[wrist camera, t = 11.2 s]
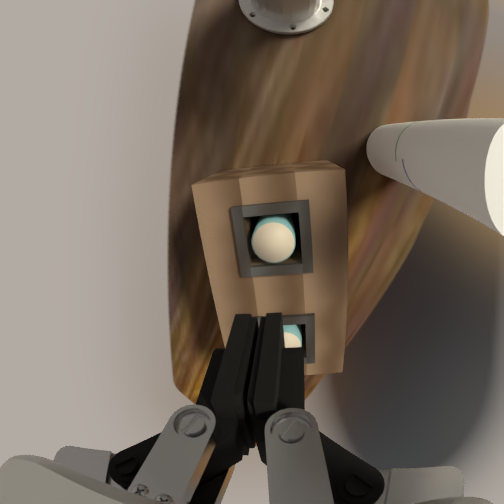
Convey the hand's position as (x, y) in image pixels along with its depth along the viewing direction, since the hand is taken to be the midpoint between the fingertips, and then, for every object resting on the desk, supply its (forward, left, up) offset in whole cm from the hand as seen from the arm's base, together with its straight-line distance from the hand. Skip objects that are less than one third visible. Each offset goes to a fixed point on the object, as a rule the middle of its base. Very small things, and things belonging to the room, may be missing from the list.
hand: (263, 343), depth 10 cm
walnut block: (+8, -1, -29) cm, 30 cm away
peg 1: (+2, -1, -28) cm, 28 cm away
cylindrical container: (-5, +15, -29) cm, 34 cm away
